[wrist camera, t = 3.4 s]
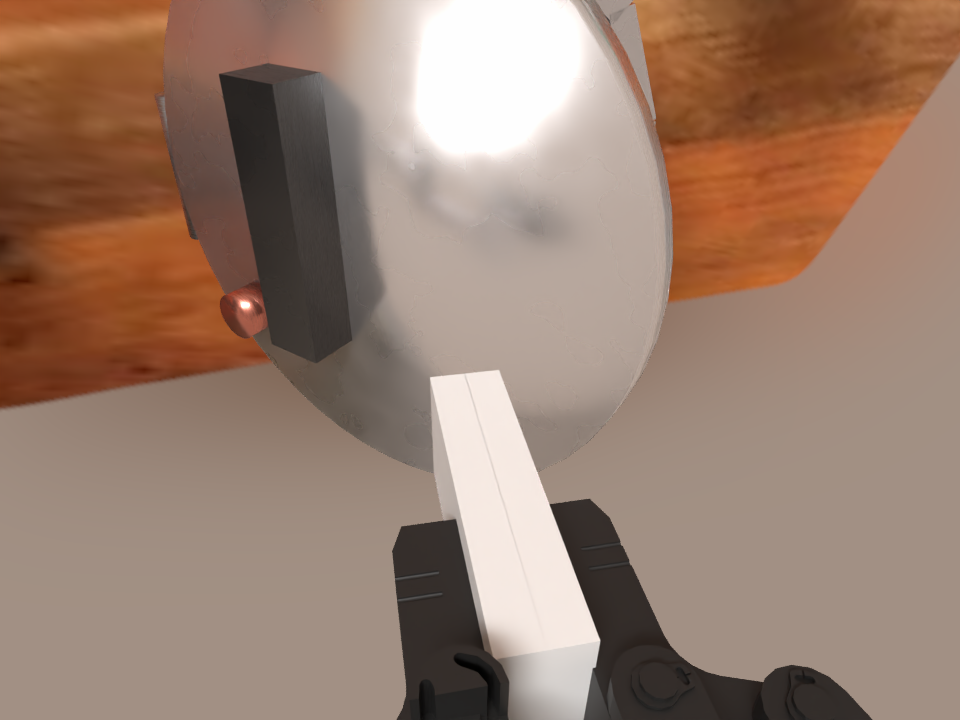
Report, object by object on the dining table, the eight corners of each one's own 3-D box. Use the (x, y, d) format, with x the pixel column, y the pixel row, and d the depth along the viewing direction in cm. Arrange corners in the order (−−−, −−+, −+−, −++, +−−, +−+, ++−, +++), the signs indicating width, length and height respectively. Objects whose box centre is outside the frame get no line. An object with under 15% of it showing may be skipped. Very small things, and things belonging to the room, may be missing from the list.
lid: (753, -155, 14) (700, -166, 12) (622, 544, 26) (584, 605, 23) (120, -139, 24) (27, -142, 21) (238, 361, 35) (185, 391, 33)
